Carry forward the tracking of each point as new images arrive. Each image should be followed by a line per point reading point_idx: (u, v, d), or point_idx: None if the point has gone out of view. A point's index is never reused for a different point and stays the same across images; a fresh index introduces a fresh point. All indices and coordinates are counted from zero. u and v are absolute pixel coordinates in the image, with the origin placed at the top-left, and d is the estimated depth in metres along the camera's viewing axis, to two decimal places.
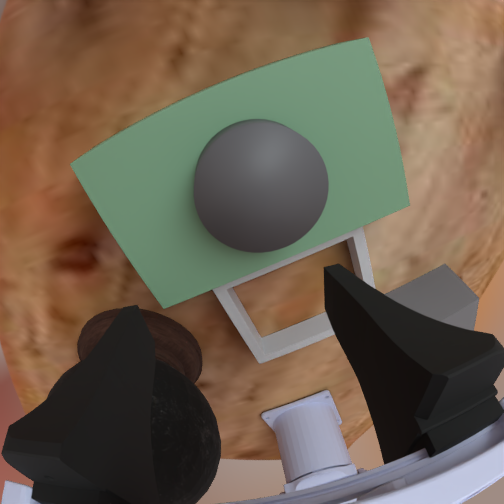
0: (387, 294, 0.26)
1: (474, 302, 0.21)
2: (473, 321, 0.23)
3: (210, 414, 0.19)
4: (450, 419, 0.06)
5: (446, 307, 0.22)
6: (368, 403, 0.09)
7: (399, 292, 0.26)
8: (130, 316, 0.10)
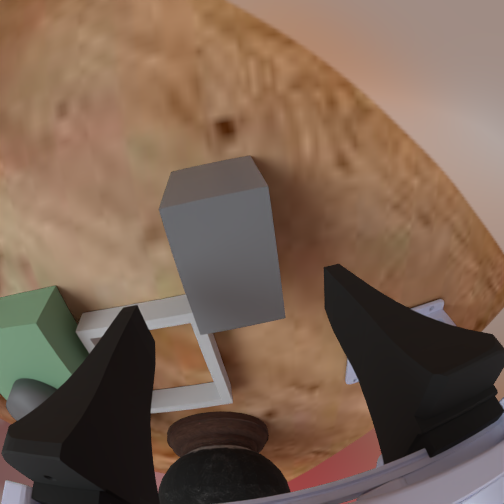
0: None
1: (166, 219, 0.13)
2: (231, 199, 0.13)
3: (210, 477, 0.22)
4: (450, 419, 0.06)
5: None
6: (369, 403, 0.09)
7: None
8: (130, 316, 0.10)
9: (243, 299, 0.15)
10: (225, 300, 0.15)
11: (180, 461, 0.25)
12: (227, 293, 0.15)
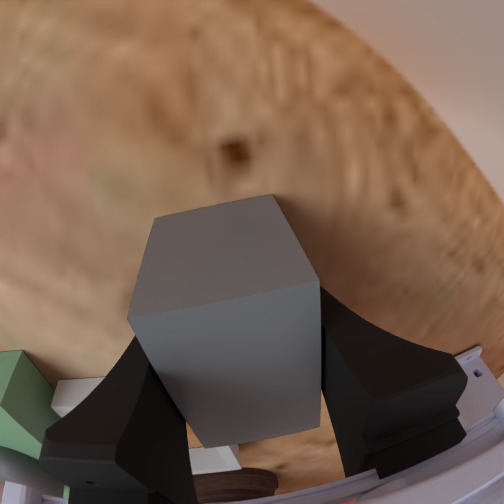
0: None
1: (142, 333, 0.07)
2: (253, 303, 0.07)
3: None
4: (402, 441, 0.06)
5: None
6: (331, 415, 0.09)
7: None
8: None
9: (266, 416, 0.10)
10: (239, 420, 0.10)
11: None
12: (243, 413, 0.09)
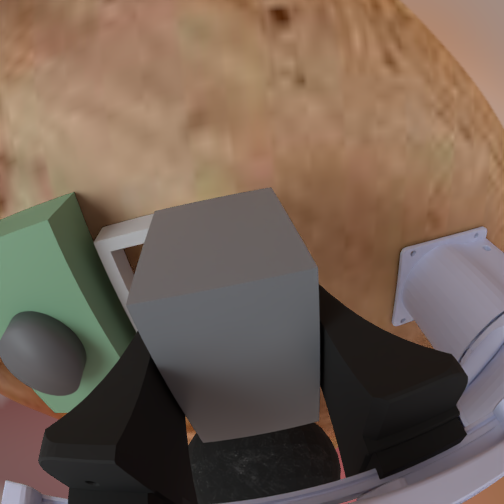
0: None
1: (140, 320, 0.07)
2: (252, 290, 0.07)
3: (249, 438, 0.19)
4: (402, 441, 0.06)
5: None
6: (330, 415, 0.09)
7: None
8: None
9: (265, 409, 0.10)
10: (238, 413, 0.10)
11: None
12: (241, 405, 0.09)
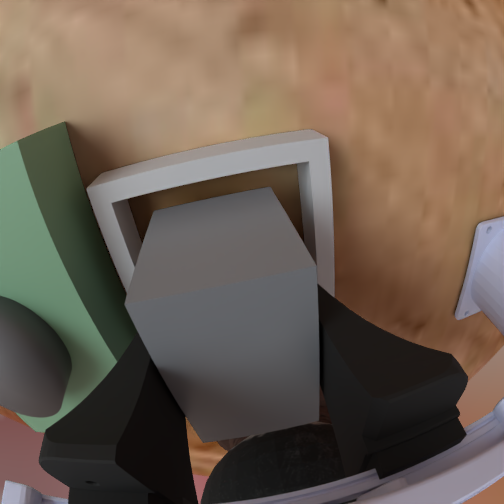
0: None
1: (139, 319, 0.07)
2: (251, 288, 0.07)
3: (302, 471, 0.13)
4: (402, 441, 0.06)
5: None
6: (330, 415, 0.09)
7: None
8: None
9: (264, 408, 0.10)
10: (237, 412, 0.10)
11: (239, 451, 0.16)
12: (241, 405, 0.09)
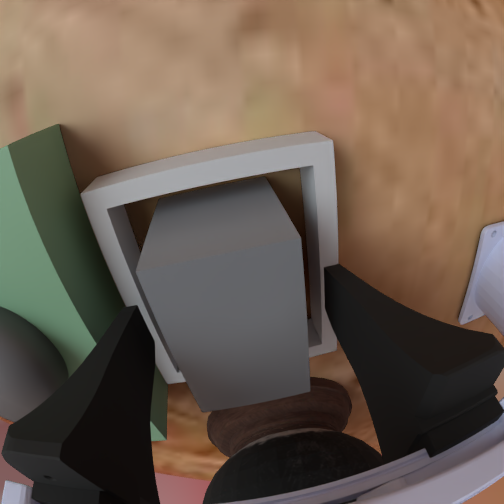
0: None
1: (148, 286, 0.08)
2: (244, 257, 0.08)
3: (304, 481, 0.13)
4: (450, 419, 0.06)
5: None
6: (369, 403, 0.09)
7: None
8: (130, 316, 0.10)
9: (259, 376, 0.11)
10: (234, 379, 0.11)
11: (240, 460, 0.16)
12: (237, 372, 0.11)
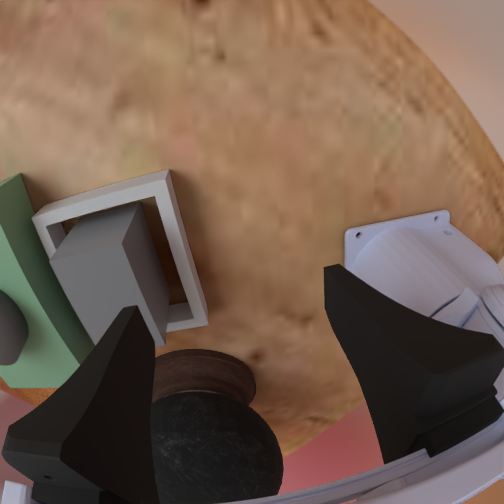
0: None
1: (55, 268, 0.15)
2: (96, 254, 0.14)
3: (178, 421, 0.19)
4: (450, 419, 0.06)
5: None
6: (369, 403, 0.09)
7: None
8: (130, 316, 0.10)
9: None
10: None
11: None
12: None
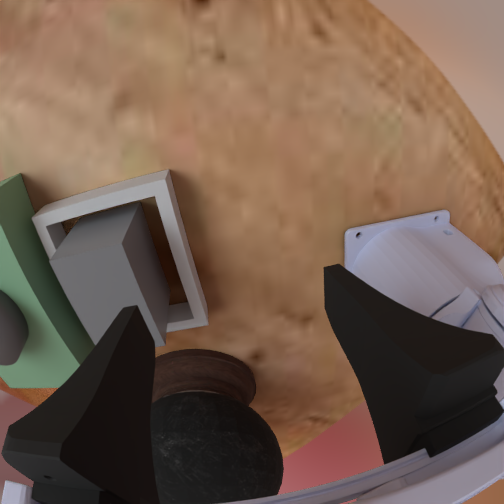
0: None
1: (55, 268, 0.15)
2: (96, 254, 0.14)
3: (178, 421, 0.19)
4: (450, 419, 0.06)
5: None
6: (369, 403, 0.09)
7: None
8: (130, 316, 0.10)
9: None
10: None
11: None
12: None
